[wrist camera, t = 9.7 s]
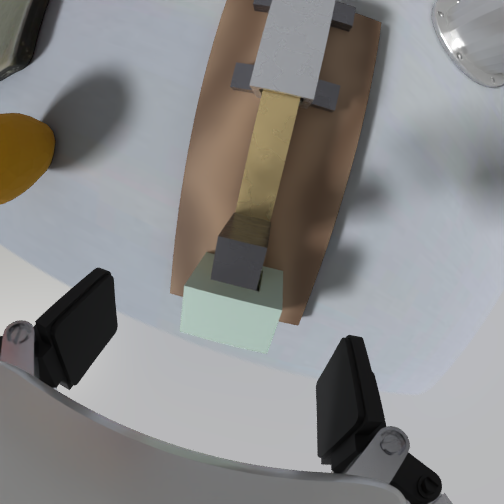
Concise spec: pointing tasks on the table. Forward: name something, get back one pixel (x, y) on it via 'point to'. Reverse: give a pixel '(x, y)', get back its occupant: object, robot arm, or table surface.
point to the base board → (297, 160)
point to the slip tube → (256, 194)
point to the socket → (232, 308)
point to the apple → (22, 153)
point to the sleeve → (294, 51)
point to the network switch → (18, 33)
